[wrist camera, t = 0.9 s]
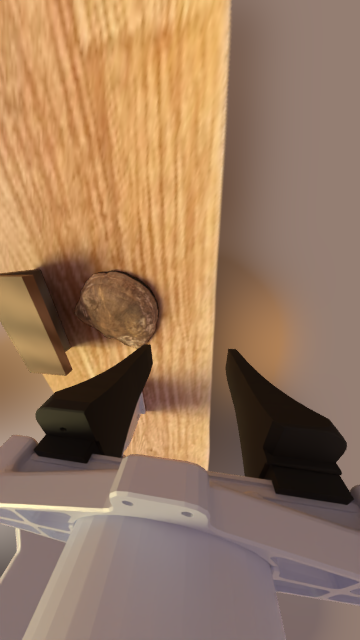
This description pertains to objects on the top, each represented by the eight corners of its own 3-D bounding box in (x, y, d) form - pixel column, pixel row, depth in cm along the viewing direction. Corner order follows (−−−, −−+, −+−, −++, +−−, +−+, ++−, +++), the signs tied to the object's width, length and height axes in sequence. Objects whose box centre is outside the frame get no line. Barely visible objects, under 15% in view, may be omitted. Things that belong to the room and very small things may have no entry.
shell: (98, 249, 20) (79, 249, 17) (175, 301, 22) (171, 310, 19) (75, 312, 25) (57, 322, 22) (140, 351, 27) (132, 365, 24)
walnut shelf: (94, 349, 28) (66, 375, 22) (65, 347, 28) (29, 372, 22) (69, 269, 22) (21, 276, 16) (33, 269, 22) (-26, 276, 16)
